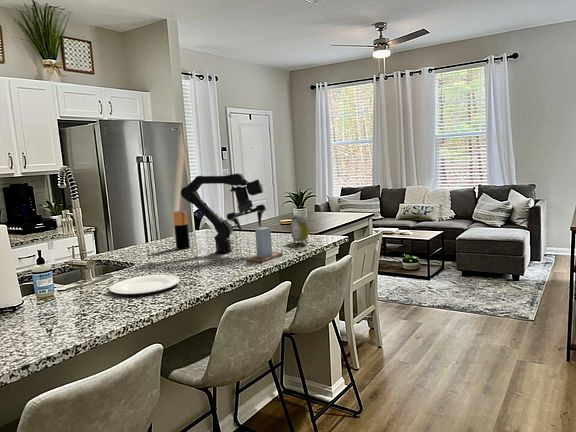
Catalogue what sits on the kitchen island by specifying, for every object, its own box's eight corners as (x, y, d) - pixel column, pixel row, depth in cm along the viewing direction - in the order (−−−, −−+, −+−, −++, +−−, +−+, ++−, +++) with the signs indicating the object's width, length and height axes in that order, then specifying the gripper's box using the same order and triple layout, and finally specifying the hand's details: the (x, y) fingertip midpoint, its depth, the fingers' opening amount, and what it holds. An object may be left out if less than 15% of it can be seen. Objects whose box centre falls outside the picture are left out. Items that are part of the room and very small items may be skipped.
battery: (192, 248, 242) (188, 210, 239) (179, 250, 238) (175, 212, 235) (186, 246, 248) (183, 209, 245) (174, 248, 244) (171, 211, 241)
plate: (125, 280, 181) (124, 276, 181) (187, 277, 180) (187, 273, 180) (97, 300, 156) (96, 294, 156) (169, 296, 155) (168, 291, 155)
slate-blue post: (257, 255, 207) (255, 228, 205) (266, 254, 210) (264, 227, 208) (262, 257, 203) (261, 229, 201) (272, 255, 206) (270, 228, 204)
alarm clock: (290, 242, 241) (289, 214, 240) (302, 240, 244) (300, 213, 242) (300, 245, 231) (299, 216, 229) (312, 244, 234) (311, 215, 232)
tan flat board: (262, 262, 197) (262, 260, 197) (246, 261, 202) (245, 258, 202) (282, 255, 210) (282, 252, 210) (266, 253, 215) (266, 251, 215)
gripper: (221, 201, 212) (229, 234, 211) (259, 191, 212) (268, 223, 210) (225, 204, 223) (233, 235, 222) (262, 194, 223) (270, 225, 221)
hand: (250, 229), depth 218 cm, fingers open, 9 cm apart
